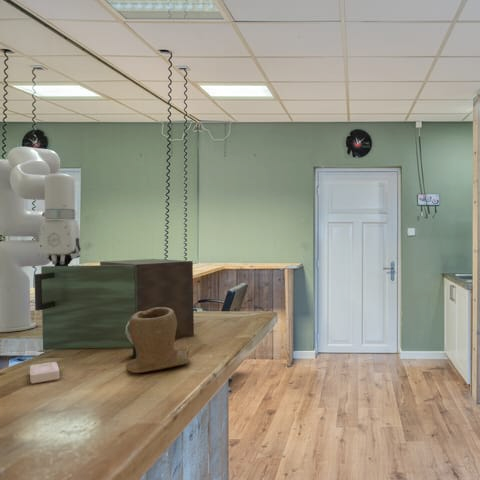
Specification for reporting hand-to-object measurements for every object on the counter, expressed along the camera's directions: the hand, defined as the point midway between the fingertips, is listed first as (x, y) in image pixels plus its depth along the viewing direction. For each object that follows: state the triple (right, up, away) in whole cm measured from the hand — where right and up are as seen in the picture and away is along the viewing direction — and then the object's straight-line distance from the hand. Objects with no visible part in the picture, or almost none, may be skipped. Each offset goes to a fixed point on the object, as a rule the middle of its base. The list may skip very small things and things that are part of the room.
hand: (61, 277), depth 136 cm
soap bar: (+15, -21, -29) cm, 39 cm away
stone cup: (+39, -21, -23) cm, 50 cm away
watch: (+29, -21, -11) cm, 38 cm away
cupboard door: (+9, -20, -5) cm, 23 cm away
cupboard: (+19, -20, +15) cm, 31 cm away
